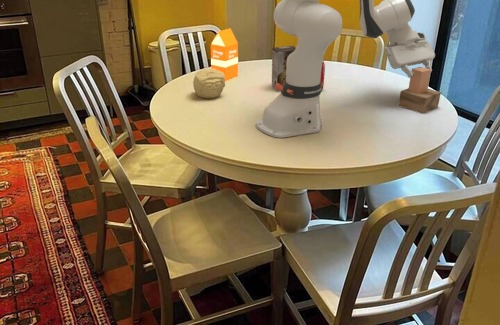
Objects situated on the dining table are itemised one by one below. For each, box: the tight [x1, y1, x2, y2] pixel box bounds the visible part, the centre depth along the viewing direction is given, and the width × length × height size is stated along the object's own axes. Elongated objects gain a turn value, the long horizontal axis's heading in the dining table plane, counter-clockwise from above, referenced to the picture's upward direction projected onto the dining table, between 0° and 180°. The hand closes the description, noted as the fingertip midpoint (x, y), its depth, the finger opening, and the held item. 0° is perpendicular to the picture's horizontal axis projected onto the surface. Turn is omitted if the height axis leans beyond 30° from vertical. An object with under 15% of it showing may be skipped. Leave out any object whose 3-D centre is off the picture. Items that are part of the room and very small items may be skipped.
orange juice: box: [210, 28, 239, 82], centre depth 201 cm, size 8×9×20 cm
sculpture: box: [192, 68, 226, 99], centre depth 182 cm, size 11×12×11 cm
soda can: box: [320, 59, 326, 91], centre depth 189 cm, size 7×7×12 cm
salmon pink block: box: [407, 66, 432, 94], centre depth 172 cm, size 5×5×8 cm
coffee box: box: [271, 45, 297, 92], centre depth 190 cm, size 9×6×16 cm
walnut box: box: [398, 87, 442, 115], centre depth 174 cm, size 10×10×6 cm
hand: (420, 74), depth 171 cm, fingers open, 8 cm apart
